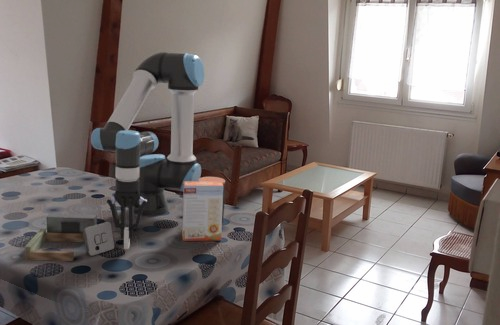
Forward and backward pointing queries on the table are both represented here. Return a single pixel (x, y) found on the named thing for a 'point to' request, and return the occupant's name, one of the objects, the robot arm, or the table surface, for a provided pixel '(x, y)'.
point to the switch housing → (69, 222)
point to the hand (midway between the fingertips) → (126, 247)
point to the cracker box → (202, 211)
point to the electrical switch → (98, 238)
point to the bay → (36, 254)
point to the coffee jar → (215, 179)
